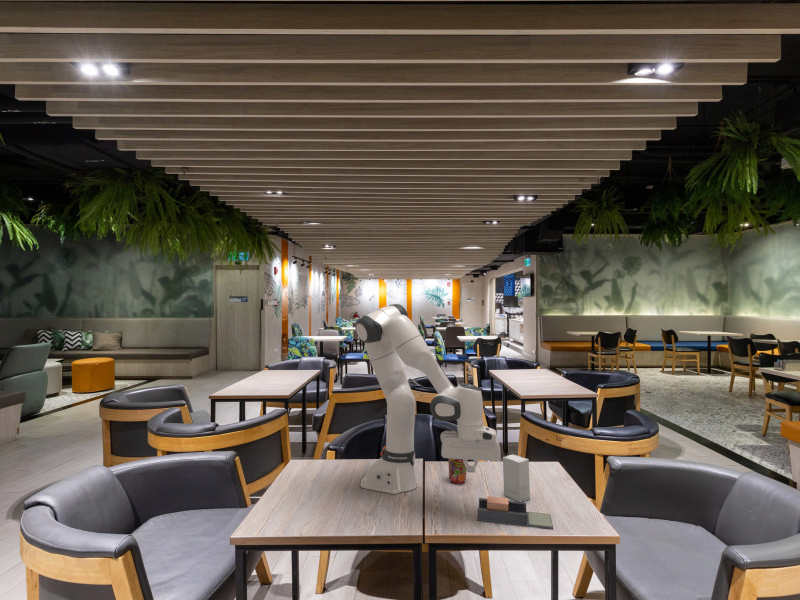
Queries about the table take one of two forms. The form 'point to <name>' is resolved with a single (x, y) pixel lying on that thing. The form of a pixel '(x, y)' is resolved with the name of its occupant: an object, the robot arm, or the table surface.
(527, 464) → the skincare box
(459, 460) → the smoothie
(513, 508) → the chute
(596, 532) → the table surface
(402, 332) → the robot arm
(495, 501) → the block
